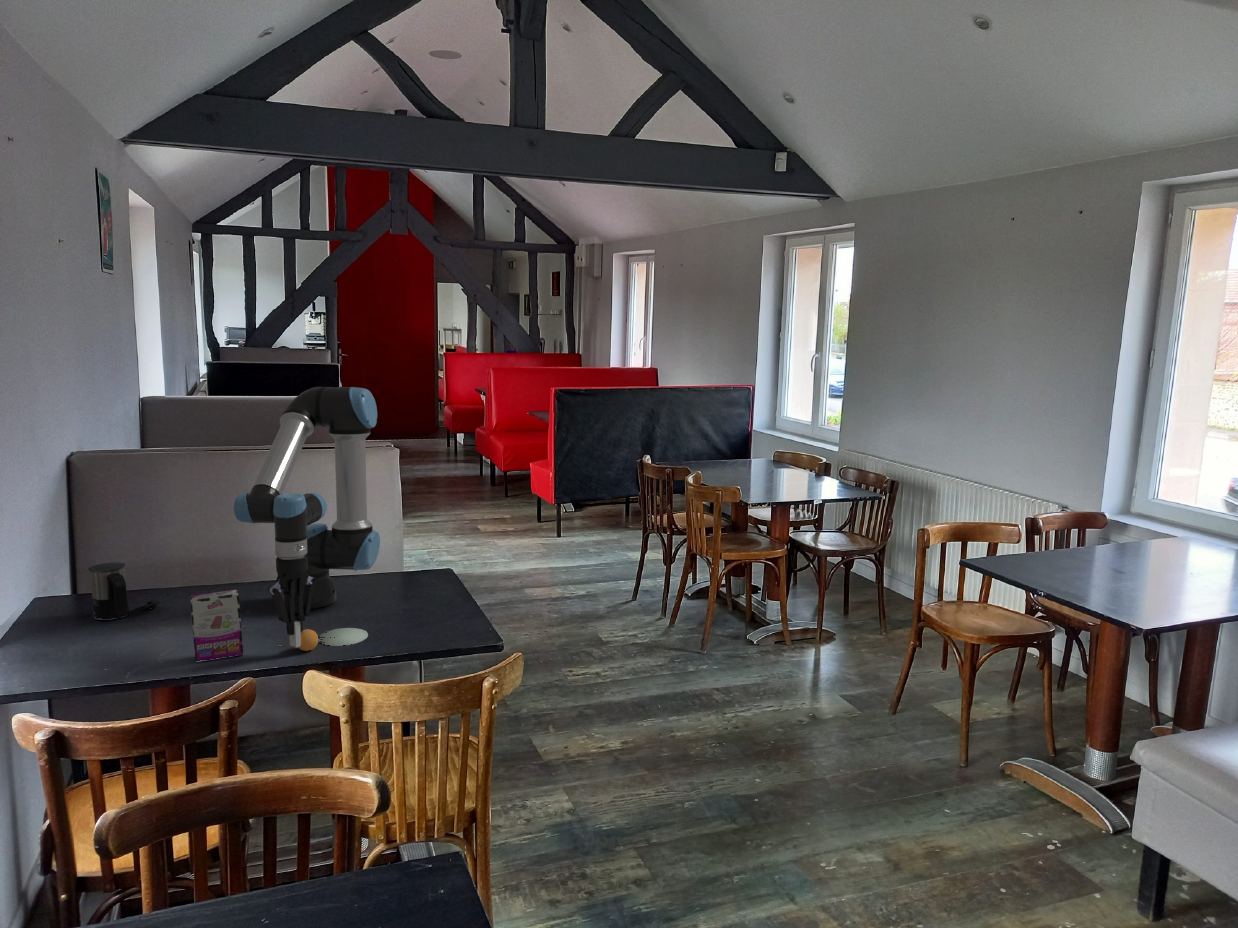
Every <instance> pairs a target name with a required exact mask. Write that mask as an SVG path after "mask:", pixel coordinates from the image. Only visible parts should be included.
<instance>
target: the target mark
mask: <svg viewBox="0 0 1238 928" xmlns="http://www.w3.org/2000/svg"><path fill="white" fill-rule="evenodd" d="M326 632H327V633H325V632H322V633H321V634H319V635H318V636H320V637H325V638H320V639H323V640H320V639H319V638H318V643H319V642H320V641H322V642H325V643H322V644H321V645H323V644H325V645H324V646H327V645H330V646H329V647H344V646H343V645H346V646H350V645H351V644H352V645H356V644H358V643H360V642H361V643H362V642H363V641H364V640H366V639H367V638H368V636H369V634H368V632H367V631H366V630H365V629H361V628H356V627H344V628H343V627H340V628H334V629H332V630H331V629H329V630H327V631H326ZM330 637H331V638H330ZM334 637H335V638H334Z"/></svg>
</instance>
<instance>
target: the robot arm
mask: <svg viewBox="0 0 1238 928" xmlns="http://www.w3.org/2000/svg"><path fill="white" fill-rule="evenodd" d="M377 408H378V407H377V403H376V399H375V398H374V396H373V394H372V392H371V391H370V390H369V389H367V388H363V387H356V386H355V387H354V386H350V387H349V386H342V387H341V386H338V387H337V386H336V387H335V386H334V387H333V386H316V387H311V388H309V389H306V390H305V391H302V392H301V393H300V394H299V395H298V394H297V396H296V397H294V398H293V399H292V400H291V401H290V403H288V405H287V406H286V407H285V409H284V410H283V412H282V414H281V416H280V418H279V425H280V427H279V429H278V431H277V433H276V436H275V438H274V440H273V442H272V444H271V447H270V448H269V451H268V454H267V456H266V458H265V459H264V463H263V464H262V467H261V468H260V471H259V473H258V475H257V477H256V480H255V482H254V484H253V486H252V488H251V490H250V491H249V493H248V492H247V493H241V494H239V495H237V496H236V498H235V500H234V502H233V503H234V504H233V513H234V516H235V518H236V520H238V521H239V522H242V523H250V524H274V547H275V548H274V549H275V550H274V551H275V557H276V558H275V569H276V573H277V576H276V577H277V578H276V580H275V584H274V585H272V586H269V587H268V588H267V591H268V593H269V594H270V595H271V598H272V601H273V604H274V607H275V611H276V615H277V617H278V620H279V622H283V623H286V634H287V635H288V636H289V646H291V647H294V648H296V649H297V648H298V647H300V646H301V632H302V631H303V630H304V627H303V625H304V624H303V623H304V622H305V620H306V617H309V616H310V613H311V610H312V609H319V608H323V607H327V606H329V605H331V604H334V603H335V602H336V601H337V591H336V588H335V586H334V584H333V580H332V578H331V576H330V570H343V571H344V570H349V571H366V570H370V569H371V568H372V567H373V566H374V565H375V563H376V561H377V559H378V556H379V552H380V546H381V536H380V533H379V532H378V531H376V530H373V529H374V528H373V523H372V522H371V521H370V520H369V519H368V507H367V506H368V505H367V503H368V502H367V499H368V498H367V461H366V459H367V458H366V439H367V438H368V437H369V436H370V435H371V429H372V428H375V427H376V425H377V422H378V420H377V419H378V409H377ZM319 427H321V428H322V427H323V428H324V427H325V428H328V433H329V436H330V437H331V438H333V440H334V461H335V463H334V464H335V466H334V467H335V498H336V499H335V500H336V521H334V522H333V523H332V524H331V529H328V528H329V526H328V525H327V523H318V521H320V520H321V519H323V517H324V516H325V515H326V513H327V512H328V511H327V510H328V505H327V501H326V499H325V498H324V496H322V495H321V494H319V493H316V492H308V493H304V494H302V493H295V492H293V493H292V492H291V493H284V490H285V488H286V486H287V483H288V482H289V479H290V477H291V474H292V472H293V470H294V468H295V465H296V463H297V460H298V458H299V456H300V453H301V452H302V449H303V446H304V444H305V443H306V440H307V437H309V436H311V435H312V434H313V433H314V431H315V429H317V428H319ZM283 493H284V494H283ZM316 522H317V523H316Z"/></svg>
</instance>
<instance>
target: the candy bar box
mask: <svg viewBox="0 0 1238 928" xmlns="http://www.w3.org/2000/svg"><path fill="white" fill-rule="evenodd" d="M189 602H190V603H189V605H190V615H191V616H190V617H191V625H192V626H191V627H192V639H193V651H194V661H200V660H210V659H216V658H222V657H229V656H235V655H243V656H244V645H243V633H242V630H243V629H242V620H241V606H240V605H241V604H240V596H239V591H238V589H230V590H224V591H223V590H221V591H215V592H209V593H207V592H206V593H200V594H199V593H198V594H193V595H192V594H191V595H190V596H189Z"/></svg>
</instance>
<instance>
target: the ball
mask: <svg viewBox="0 0 1238 928" xmlns="http://www.w3.org/2000/svg"><path fill="white" fill-rule="evenodd" d="M318 636H319V635H318V634H317V632H316V631H315V630H312V629H309V628H307V629H306V628H305V629H303V631H302V632H301V646H300V647H297V648H298V649H299V650H301V651H305V652H309V650H310V651H312V650H314V649H315V648H316V647H317V645H318V643H319V642H318Z"/></svg>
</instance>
